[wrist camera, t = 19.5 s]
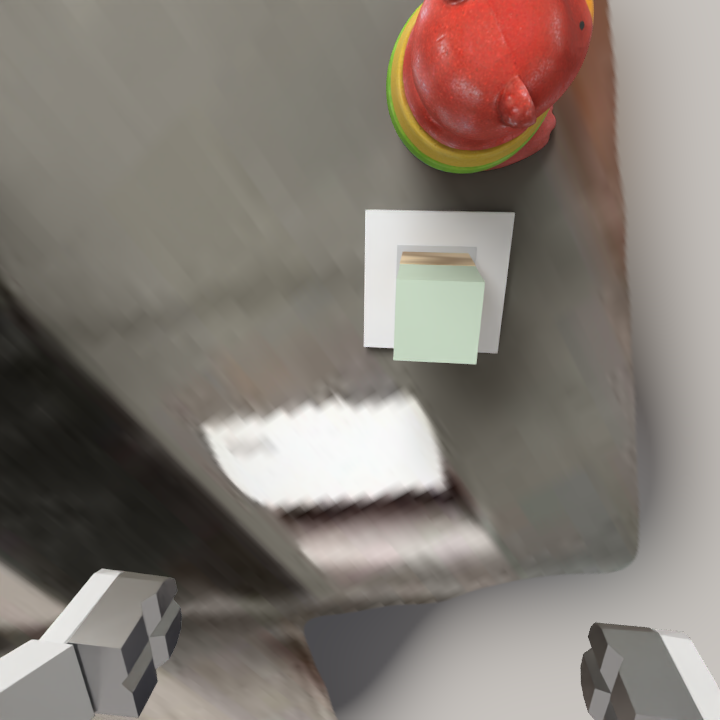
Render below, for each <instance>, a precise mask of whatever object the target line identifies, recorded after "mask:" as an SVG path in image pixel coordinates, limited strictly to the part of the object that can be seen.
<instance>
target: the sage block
mask: <svg viewBox="0 0 720 720" xmlns="http://www.w3.org/2000/svg"><path fill="white" fill-rule="evenodd" d="M484 288H485V281H484V280H483V278H482V276H481V275H480V273H479V271H478V270H477V268H476V266H453V265H419V264H400V266H399V270H398V274H397V279H396V302H395V329H394V356H393V360H401V361H420V362H440V363H459V364H476V362H477V352H478V343H479V334H480V325H481V315H482V306H483V297H484Z"/></svg>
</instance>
